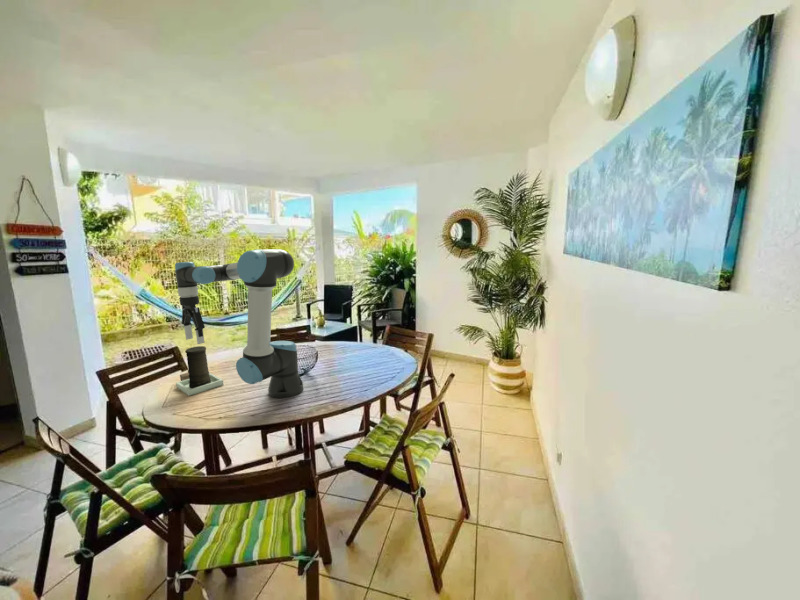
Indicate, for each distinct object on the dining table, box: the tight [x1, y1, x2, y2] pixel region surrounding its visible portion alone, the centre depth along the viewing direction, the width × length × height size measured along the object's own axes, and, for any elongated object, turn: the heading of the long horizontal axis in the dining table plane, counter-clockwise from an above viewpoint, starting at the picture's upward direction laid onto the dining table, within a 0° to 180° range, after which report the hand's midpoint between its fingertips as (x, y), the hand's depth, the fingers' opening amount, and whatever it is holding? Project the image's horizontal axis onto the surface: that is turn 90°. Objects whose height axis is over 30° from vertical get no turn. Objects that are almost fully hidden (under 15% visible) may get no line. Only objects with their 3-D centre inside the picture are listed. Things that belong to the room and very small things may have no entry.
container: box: [185, 345, 211, 389], centre depth 158 cm, size 9×9×18 cm
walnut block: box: [179, 371, 189, 381], centre depth 165 cm, size 4×4×4 cm
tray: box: [175, 372, 224, 397], centre depth 159 cm, size 15×15×2 cm
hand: (195, 341), depth 156 cm, fingers open, 13 cm apart
